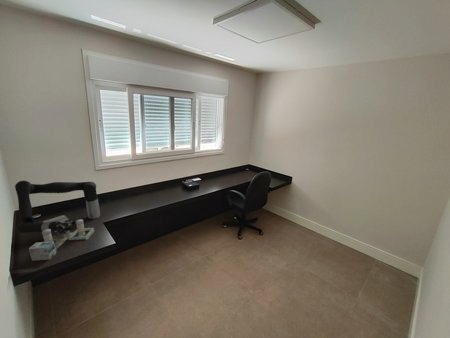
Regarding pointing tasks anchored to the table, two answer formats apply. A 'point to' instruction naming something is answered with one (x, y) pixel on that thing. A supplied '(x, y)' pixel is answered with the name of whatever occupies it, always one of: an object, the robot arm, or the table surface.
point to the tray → (91, 231)
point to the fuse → (47, 235)
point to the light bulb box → (42, 250)
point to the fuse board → (61, 238)
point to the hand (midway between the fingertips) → (75, 225)
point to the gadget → (58, 219)
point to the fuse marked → (80, 227)
